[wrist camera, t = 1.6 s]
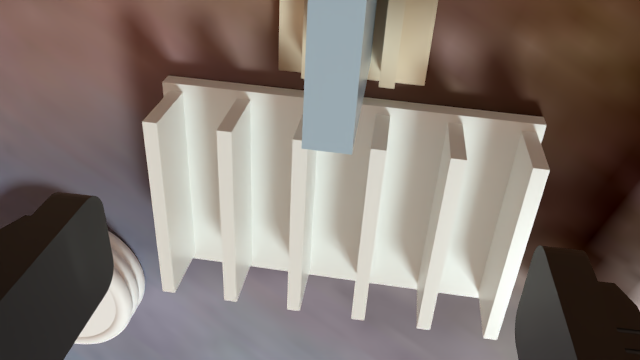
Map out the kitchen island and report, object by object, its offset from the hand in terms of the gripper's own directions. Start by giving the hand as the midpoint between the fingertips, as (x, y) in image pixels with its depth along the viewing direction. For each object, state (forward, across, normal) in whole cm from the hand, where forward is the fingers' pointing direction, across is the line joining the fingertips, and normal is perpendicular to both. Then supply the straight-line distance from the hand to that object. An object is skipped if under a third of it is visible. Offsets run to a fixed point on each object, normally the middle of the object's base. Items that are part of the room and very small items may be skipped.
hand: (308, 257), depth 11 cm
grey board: (+22, +1, -1) cm, 22 cm away
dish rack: (+23, +1, +13) cm, 26 cm away
